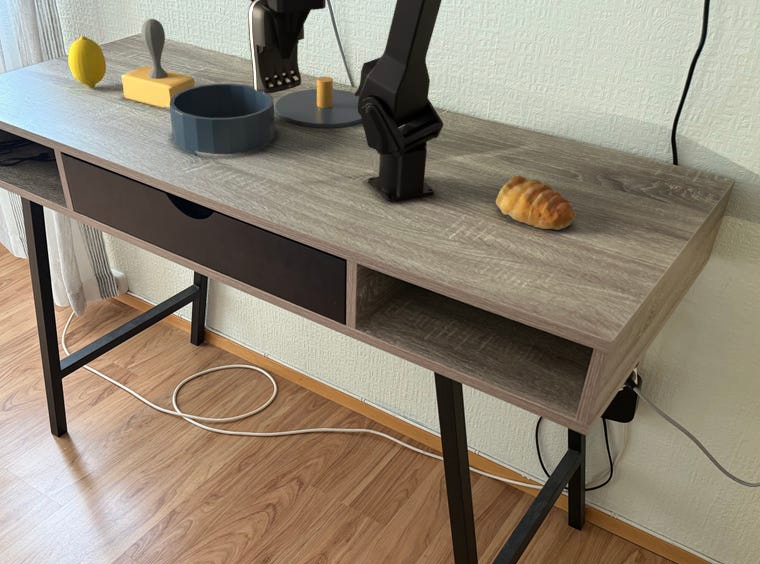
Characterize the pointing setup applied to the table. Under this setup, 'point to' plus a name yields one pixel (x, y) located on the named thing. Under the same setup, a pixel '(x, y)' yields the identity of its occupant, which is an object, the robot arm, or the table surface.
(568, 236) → the table surface
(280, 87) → the battery charger
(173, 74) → the rubber stamp
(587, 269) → the table surface
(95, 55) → the lemon
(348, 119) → the tin lid
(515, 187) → the pastry
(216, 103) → the tin
